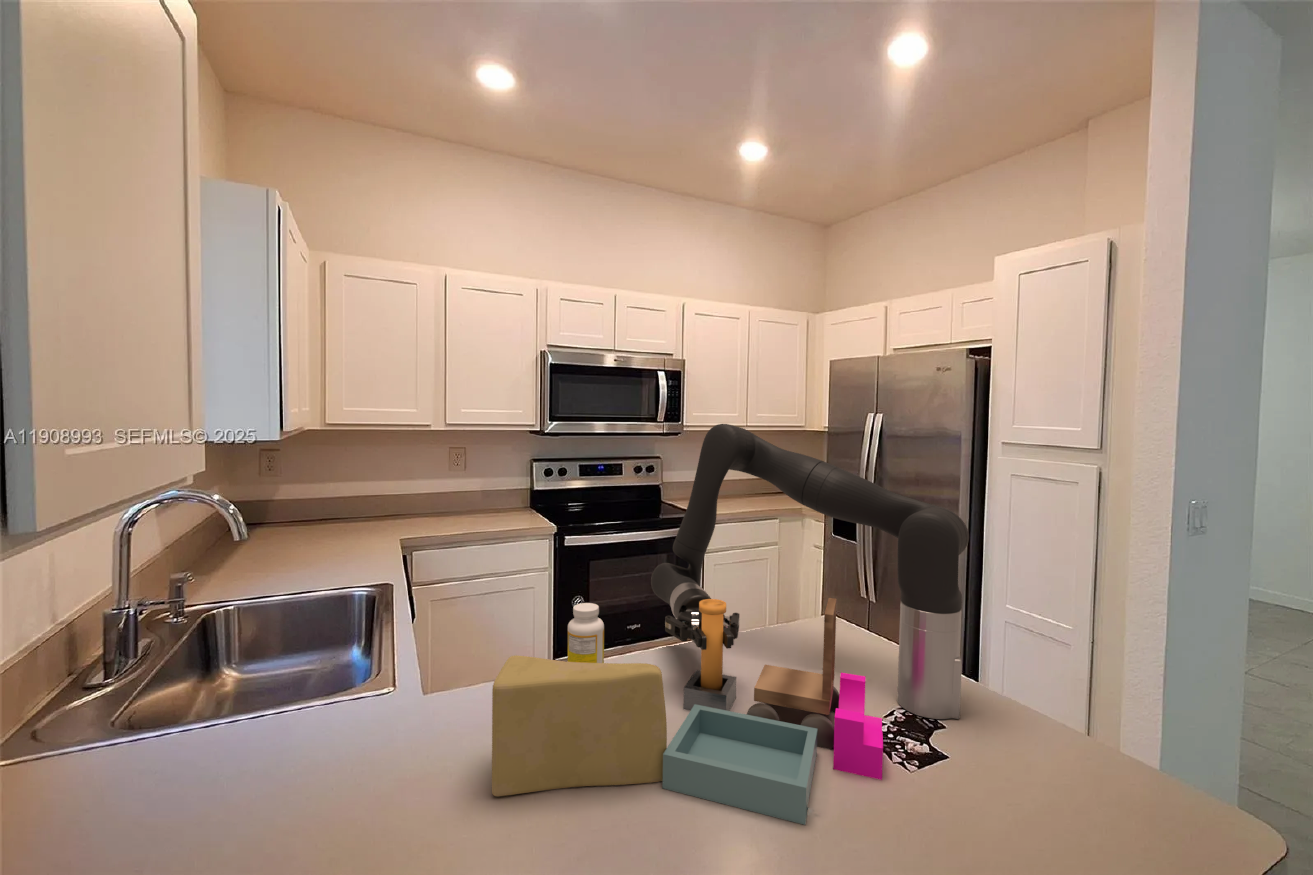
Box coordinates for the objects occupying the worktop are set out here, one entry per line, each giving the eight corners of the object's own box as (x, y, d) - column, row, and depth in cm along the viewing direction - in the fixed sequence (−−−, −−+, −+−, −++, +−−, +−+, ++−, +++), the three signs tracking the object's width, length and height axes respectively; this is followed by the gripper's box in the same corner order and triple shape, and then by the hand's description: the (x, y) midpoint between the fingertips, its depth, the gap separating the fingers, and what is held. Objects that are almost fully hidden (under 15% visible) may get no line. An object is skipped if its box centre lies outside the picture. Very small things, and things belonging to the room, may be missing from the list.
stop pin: (727, 690, 97) (729, 600, 96) (721, 702, 93) (722, 609, 92) (702, 685, 98) (703, 597, 98) (694, 697, 94) (695, 605, 94)
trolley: (839, 715, 95) (843, 595, 94) (834, 756, 83) (838, 620, 82) (759, 699, 99) (762, 585, 98) (744, 737, 87) (747, 608, 87)
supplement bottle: (584, 664, 112) (585, 598, 111) (611, 674, 108) (612, 605, 107) (559, 677, 106) (560, 607, 106) (586, 687, 103) (587, 615, 102)
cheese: (665, 757, 82) (667, 652, 82) (666, 803, 73) (668, 684, 72) (508, 754, 82) (509, 650, 82) (488, 800, 73) (489, 681, 72)
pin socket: (735, 703, 98) (736, 677, 98) (725, 723, 91) (726, 695, 91) (695, 695, 100) (696, 669, 100) (683, 715, 94) (683, 687, 94)
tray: (816, 760, 82) (817, 728, 82) (805, 825, 69) (806, 788, 69) (694, 733, 88) (694, 704, 88) (662, 788, 75) (663, 754, 75)
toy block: (881, 781, 78) (883, 726, 78) (833, 770, 80) (834, 717, 80) (881, 725, 92) (882, 679, 92) (839, 718, 94) (840, 672, 94)
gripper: (655, 589, 108) (673, 622, 91) (729, 586, 110) (760, 617, 93) (655, 629, 108) (673, 669, 91) (728, 625, 111) (759, 664, 94)
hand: (716, 643), depth 92 cm, fingers closed on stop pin, 3 cm apart
